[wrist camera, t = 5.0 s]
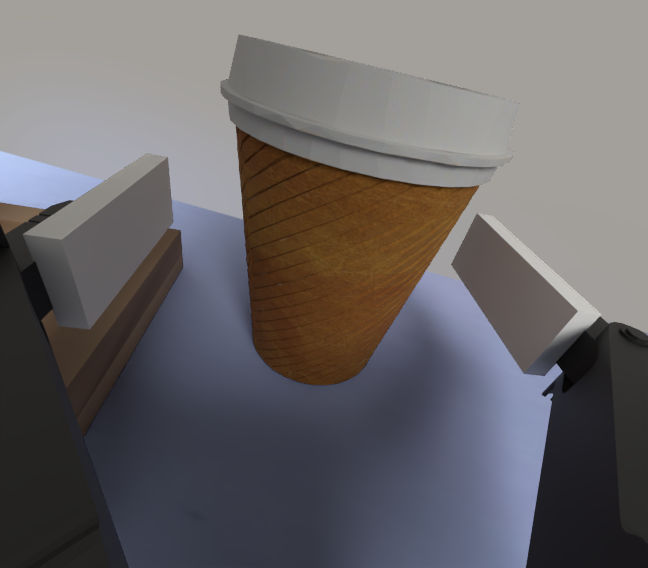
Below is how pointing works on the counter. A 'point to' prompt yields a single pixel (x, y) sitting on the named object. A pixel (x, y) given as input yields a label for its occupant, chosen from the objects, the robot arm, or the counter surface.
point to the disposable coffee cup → (347, 195)
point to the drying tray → (106, 322)
